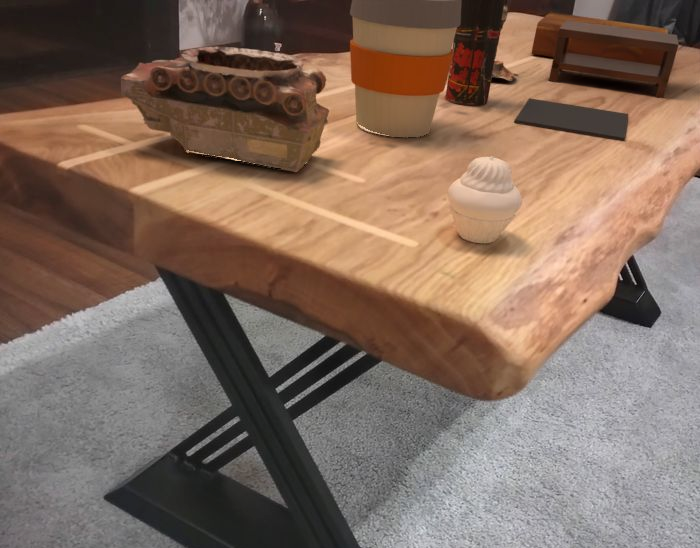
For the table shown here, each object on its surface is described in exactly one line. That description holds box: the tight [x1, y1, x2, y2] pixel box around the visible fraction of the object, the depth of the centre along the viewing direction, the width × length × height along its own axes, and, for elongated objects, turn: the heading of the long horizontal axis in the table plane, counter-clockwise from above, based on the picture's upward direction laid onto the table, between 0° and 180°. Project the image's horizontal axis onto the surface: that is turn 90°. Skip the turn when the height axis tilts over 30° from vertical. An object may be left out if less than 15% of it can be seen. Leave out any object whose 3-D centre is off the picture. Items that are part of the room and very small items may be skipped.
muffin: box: [447, 155, 523, 244], centre depth 64 cm, size 6×6×7 cm
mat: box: [513, 97, 629, 142], centre depth 105 cm, size 14×14×1 cm
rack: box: [548, 20, 680, 99], centre depth 126 cm, size 18×11×8 cm, turn 71°
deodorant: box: [445, 0, 505, 107], centre depth 105 cm, size 6×6×15 cm
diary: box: [531, 11, 669, 66], centre depth 148 cm, size 23×19×6 cm
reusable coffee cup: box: [349, 0, 462, 139], centre depth 90 cm, size 13×13×15 cm
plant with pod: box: [492, 0, 520, 82], centre depth 119 cm, size 8×11×20 cm
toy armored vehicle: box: [120, 45, 331, 173], centre depth 76 cm, size 13×20×10 cm, turn 70°
